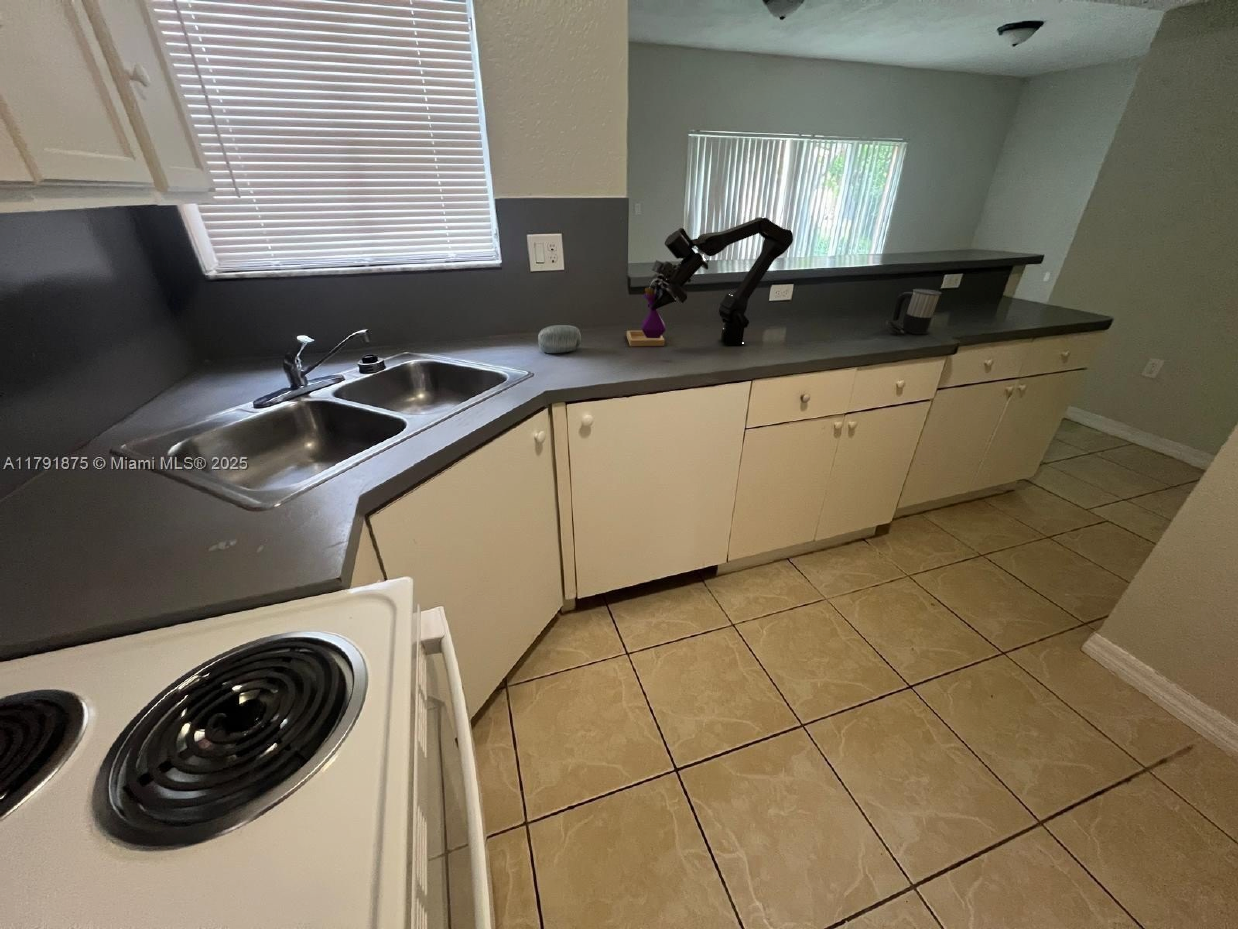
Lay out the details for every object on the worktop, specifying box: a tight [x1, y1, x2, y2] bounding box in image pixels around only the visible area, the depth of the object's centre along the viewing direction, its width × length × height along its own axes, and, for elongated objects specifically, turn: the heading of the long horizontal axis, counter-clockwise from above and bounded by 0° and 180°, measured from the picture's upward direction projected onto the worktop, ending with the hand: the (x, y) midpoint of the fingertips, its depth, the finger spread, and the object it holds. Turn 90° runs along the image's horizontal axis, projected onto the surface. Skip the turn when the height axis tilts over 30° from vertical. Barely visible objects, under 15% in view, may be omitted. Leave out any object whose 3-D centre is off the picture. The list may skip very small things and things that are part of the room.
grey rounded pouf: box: [537, 324, 582, 354], centre depth 154 cm, size 14×10×10 cm
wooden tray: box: [626, 330, 666, 347], centre depth 167 cm, size 12×12×2 cm
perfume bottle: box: [641, 278, 667, 338], centre depth 153 cm, size 8×8×18 cm
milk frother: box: [886, 288, 942, 335], centre depth 180 cm, size 14×16×15 cm
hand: (650, 308), depth 153 cm, fingers closed on perfume bottle, 3 cm apart
